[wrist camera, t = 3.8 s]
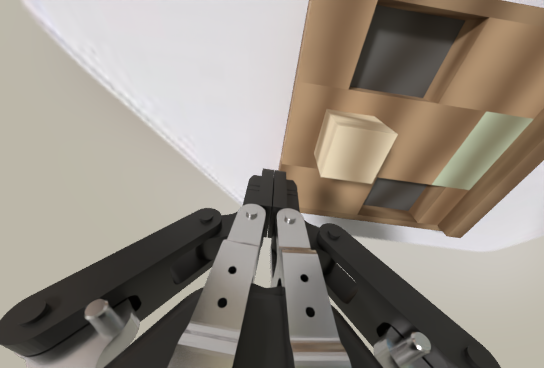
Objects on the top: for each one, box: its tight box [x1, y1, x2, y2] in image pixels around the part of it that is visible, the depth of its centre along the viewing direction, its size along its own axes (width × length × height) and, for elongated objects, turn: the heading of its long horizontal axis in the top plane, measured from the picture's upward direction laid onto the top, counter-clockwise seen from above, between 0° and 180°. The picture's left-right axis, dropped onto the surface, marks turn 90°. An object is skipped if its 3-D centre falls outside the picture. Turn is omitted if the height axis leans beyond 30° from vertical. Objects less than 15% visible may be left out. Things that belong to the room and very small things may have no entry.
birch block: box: [314, 109, 398, 184], centre depth 19 cm, size 5×5×5 cm
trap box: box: [278, 0, 544, 238], centre depth 22 cm, size 26×24×5 cm
